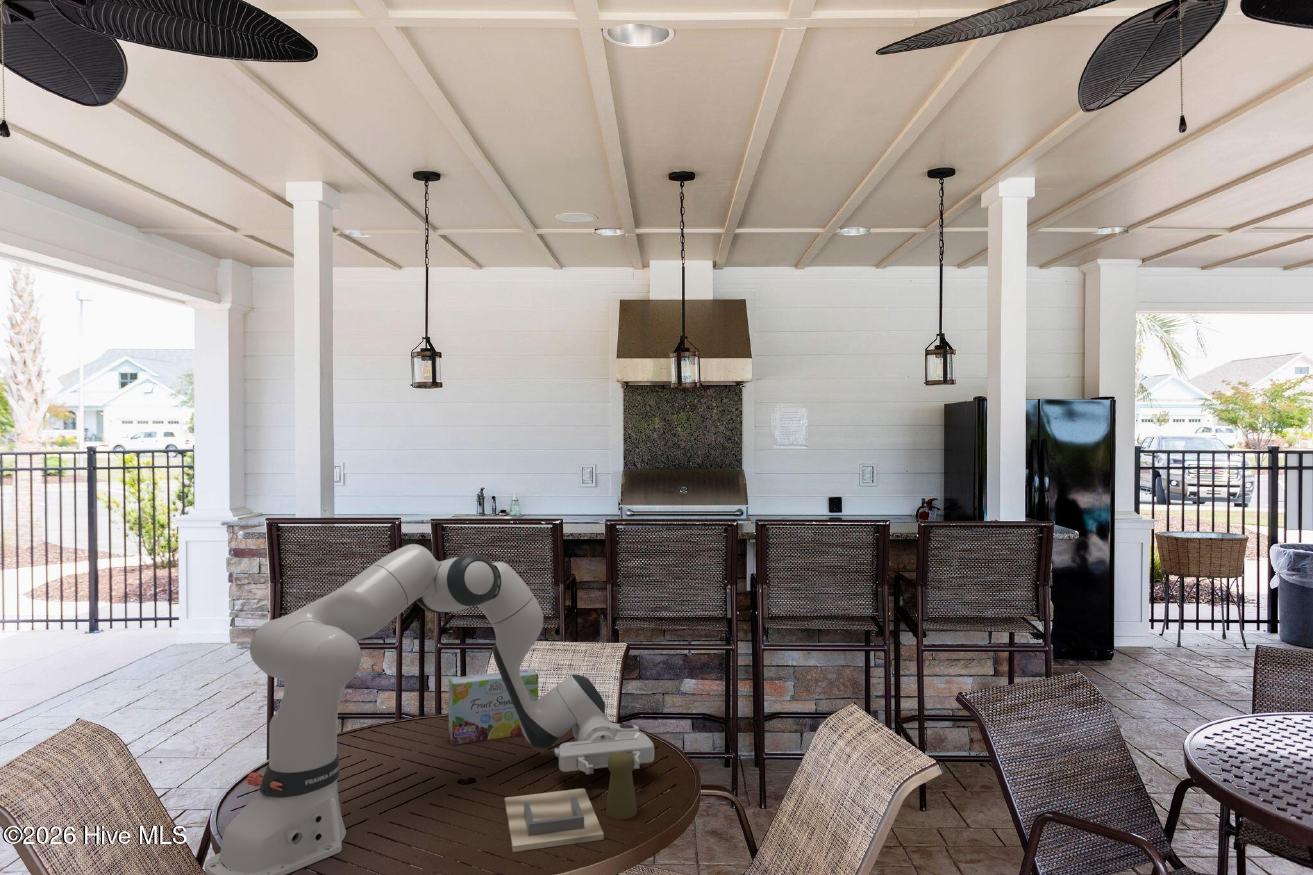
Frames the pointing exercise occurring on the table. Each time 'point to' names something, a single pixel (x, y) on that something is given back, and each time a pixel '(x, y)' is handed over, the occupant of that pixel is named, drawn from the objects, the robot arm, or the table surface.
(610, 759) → the olive pawn
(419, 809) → the table surface
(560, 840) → the board
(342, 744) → the table surface
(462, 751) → the table surface
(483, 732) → the snack box
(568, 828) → the frame
